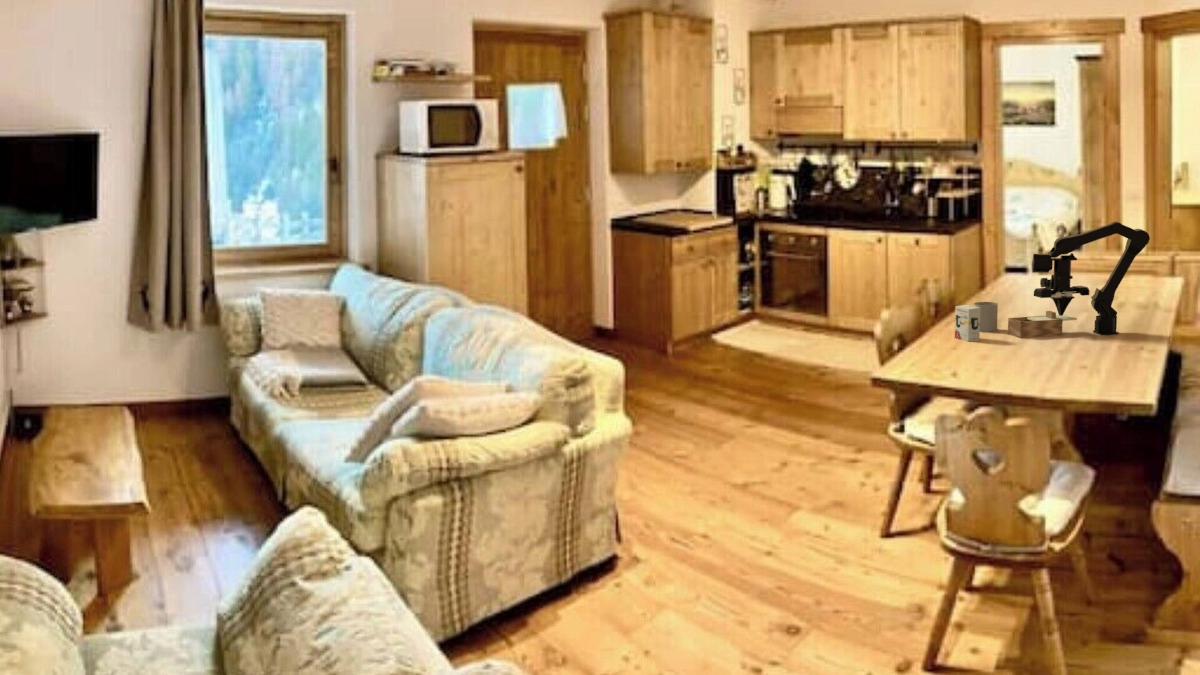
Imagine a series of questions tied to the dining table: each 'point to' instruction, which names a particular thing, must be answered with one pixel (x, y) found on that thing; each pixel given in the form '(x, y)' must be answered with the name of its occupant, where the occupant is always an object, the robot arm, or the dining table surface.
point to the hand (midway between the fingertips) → (1060, 315)
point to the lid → (1051, 317)
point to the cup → (988, 316)
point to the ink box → (967, 322)
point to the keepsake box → (1034, 327)
